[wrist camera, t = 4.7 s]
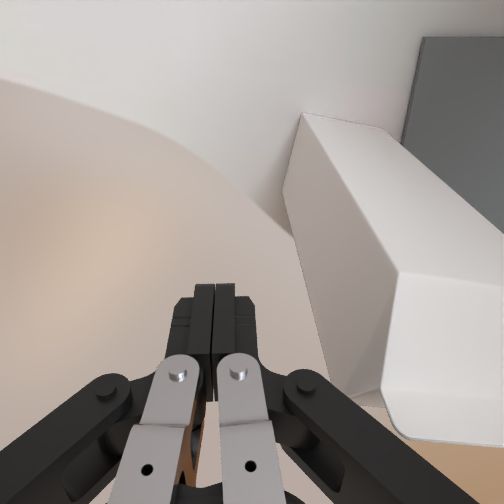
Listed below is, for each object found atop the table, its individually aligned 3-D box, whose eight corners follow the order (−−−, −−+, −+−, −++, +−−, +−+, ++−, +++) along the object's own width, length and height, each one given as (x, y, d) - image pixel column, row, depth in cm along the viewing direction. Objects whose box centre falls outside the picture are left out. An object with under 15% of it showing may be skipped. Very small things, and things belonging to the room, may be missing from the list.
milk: (301, 111, 27) (449, 350, 8) (384, 128, 28) (685, 379, 9) (280, 192, 30) (356, 497, 12) (355, 205, 31) (538, 509, 12)
